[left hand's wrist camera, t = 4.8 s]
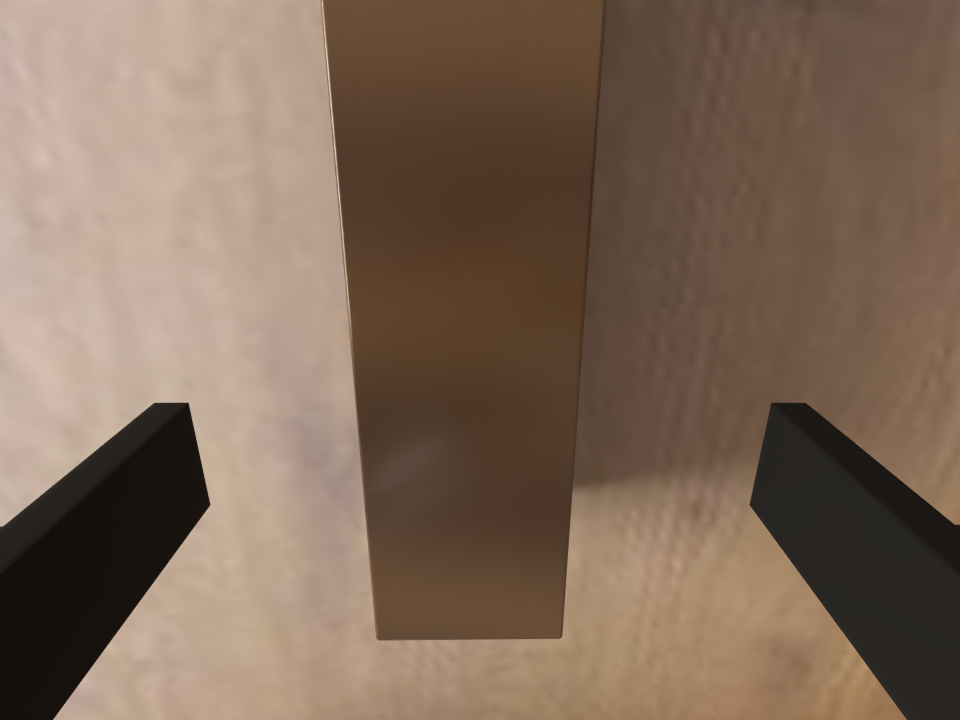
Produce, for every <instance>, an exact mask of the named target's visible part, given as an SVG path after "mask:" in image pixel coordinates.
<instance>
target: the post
mask: <svg viewBox="0 0 960 720" xmlns="http://www.w3.org/2000/svg"><path fill="white" fill-rule="evenodd" d="M320 1H321V12H322V23H323V35H324V46H325V58H326V69H327V81H328V92H329V104H330V115H331V126H332V138H333V149H334V161H335V172H336V184H337V195H338V206H339V218H340V229H341V241H342V252H343V264H344V275H345V286H346V298H347V309H348V321H349V332H350V344H351V355H352V366H353V378H354V389H355V401H356V412H357V424H358V435H359V446H360V458H361V469H362V481H363V492H364V504H365V515H366V526H367V538H368V549H369V561H370V572H371V584H372V595H373V606H374V618H375V629H376V638H377V640H469V639H560V638H561V637H562V633H563V618H564V604H565V589H566V575H567V561H568V546H569V532H570V517H571V503H572V488H573V474H574V459H575V445H576V430H577V416H578V401H579V387H580V372H581V358H582V344H583V329H584V315H585V300H586V286H587V271H588V257H589V242H590V228H591V213H592V199H593V184H594V170H595V155H596V141H597V127H598V112H599V98H600V83H601V69H602V54H603V40H604V25H605V11H606V0H320Z"/></svg>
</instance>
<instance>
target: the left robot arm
mask: <svg viewBox="0 0 960 720" xmlns="http://www.w3.org/2000/svg"><path fill="white" fill-rule="evenodd" d="M209 506H210V501H209V496H208V492H207V487H206V482H205V478H204V473H203V468H202V464H201V459H200V454H199V450H198V445H197V440H196V436H195V431H194V426H193V422H192V417H191V412H190V408H189V403H154V404H153V405H151V406H150V407H149V408H148V409H146V410H145V411H144V412H143V413H141V414H140V415H139V416H138V417H137V418H135V419H134V420H133V421H132V422H130V423H129V424H128V425H127V426H126V427H124V428H123V429H122V430H121V431H119V432H118V433H117V434H116V435H115V436H113V437H112V438H111V439H110V440H108V441H107V442H106V443H105V444H104V445H102V446H101V447H100V448H99V449H97V450H96V451H95V452H94V453H93V454H91V455H90V456H89V457H88V458H86V459H85V460H84V461H83V462H82V463H80V464H79V465H78V466H77V467H75V468H74V469H73V470H72V471H71V472H69V473H68V474H67V475H66V476H64V477H63V478H62V479H61V480H60V481H58V482H57V483H56V484H55V485H53V486H52V487H51V488H50V489H49V490H47V491H46V492H45V493H44V494H42V495H41V496H40V497H39V498H38V499H36V500H35V501H34V502H33V503H31V504H30V505H29V506H28V507H26V508H25V509H24V510H23V511H22V512H20V513H19V514H18V515H17V516H15V517H14V518H13V519H12V520H11V521H9V522H8V523H7V524H6V525H4V526H3V527H0V720H53V719H54V718H55V716H56V715H57V714H58V712H59V711H60V709H61V708H62V707H63V705H64V704H65V703H66V701H67V700H68V699H69V697H70V696H71V694H72V693H73V692H74V690H75V689H76V688H77V686H78V685H79V683H80V682H81V681H82V679H83V678H84V677H85V675H86V674H87V673H88V671H89V670H90V668H91V667H92V666H93V664H94V663H95V662H96V660H97V659H98V658H99V656H100V655H101V653H102V652H103V651H104V649H105V648H106V647H107V645H108V644H109V643H110V641H111V640H112V638H113V637H114V636H115V634H116V633H117V632H118V630H119V629H120V628H121V626H122V625H123V623H124V622H125V621H126V619H127V618H128V617H129V615H130V614H131V613H132V611H133V610H134V608H135V607H136V606H137V604H138V603H139V602H140V600H141V599H142V597H143V596H144V595H145V593H146V592H147V591H148V589H149V588H150V587H151V585H152V584H153V582H154V581H155V580H156V578H157V577H158V576H159V574H160V573H161V572H162V570H163V569H164V567H165V566H166V565H167V563H168V562H169V561H170V559H171V558H172V557H173V555H174V554H175V552H176V551H177V550H178V548H179V547H180V546H181V544H182V543H183V542H184V540H185V539H186V537H187V536H188V535H189V533H190V532H191V531H192V529H193V528H194V527H195V525H196V524H197V522H198V521H199V520H200V518H201V517H202V516H203V514H204V513H205V512H206V510H207V509H208V507H209ZM750 506H751V507H752V509H753V510H754V512H755V513H756V514H757V516H758V517H759V518H760V520H761V521H762V522H763V524H764V525H765V527H766V528H767V529H768V531H769V532H770V533H771V535H772V536H773V537H774V539H775V540H776V542H777V543H778V544H779V546H780V547H781V548H782V550H783V551H784V552H785V554H786V555H787V557H788V558H789V559H790V561H791V562H792V563H793V565H794V566H795V567H796V569H797V570H798V572H799V573H800V574H801V576H802V577H803V578H804V580H805V581H806V582H807V584H808V585H809V587H810V588H811V589H812V591H813V592H814V593H815V595H816V596H817V597H818V599H819V600H820V602H821V603H822V604H823V606H824V607H825V608H826V610H827V611H828V613H829V614H830V615H831V617H832V618H833V619H834V621H835V622H836V623H837V625H838V626H839V628H840V629H841V630H842V632H843V633H844V634H845V636H846V637H847V638H848V640H849V641H850V643H851V644H852V645H853V647H854V648H855V649H856V651H857V652H858V653H859V655H860V656H861V658H862V659H863V660H864V662H865V663H866V664H867V666H868V667H869V668H870V670H871V671H872V673H873V674H874V675H875V677H876V678H877V679H878V681H879V682H880V683H881V685H882V686H883V688H884V689H885V690H886V692H887V693H888V694H889V696H890V697H891V699H892V700H893V701H894V703H895V704H896V705H897V707H898V708H899V709H900V711H901V712H902V714H903V715H904V716H905V718H906V719H907V720H960V525H954V524H953V523H952V522H951V521H949V520H948V519H947V518H946V517H945V516H943V515H942V514H941V513H940V512H938V511H937V510H936V509H935V508H934V507H932V506H931V505H930V504H929V503H927V502H926V501H925V500H924V499H922V498H921V497H920V496H919V495H918V494H916V493H915V492H914V491H913V490H911V489H910V488H909V487H908V486H907V485H905V484H904V483H903V482H902V481H900V480H899V479H898V478H897V477H896V476H894V475H893V474H892V473H891V472H889V471H888V470H887V469H886V468H885V467H883V466H882V465H881V464H880V463H878V462H877V461H876V460H875V459H874V458H872V457H871V456H870V455H869V454H867V453H866V452H865V451H864V450H863V449H861V448H860V447H859V446H858V445H856V444H855V443H854V442H853V441H852V440H850V439H849V438H848V437H847V436H845V435H844V434H843V433H842V432H841V431H839V430H838V429H837V428H836V427H834V426H833V425H832V424H831V423H830V422H828V421H827V420H826V419H825V418H823V417H822V416H821V415H820V414H819V413H817V412H816V411H815V410H814V409H812V408H811V407H810V406H809V405H807V404H806V403H771V408H770V412H769V417H768V422H767V426H766V431H765V436H764V440H763V445H762V450H761V454H760V459H759V464H758V468H757V473H756V478H755V482H754V487H753V492H752V496H751V501H750Z"/></svg>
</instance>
